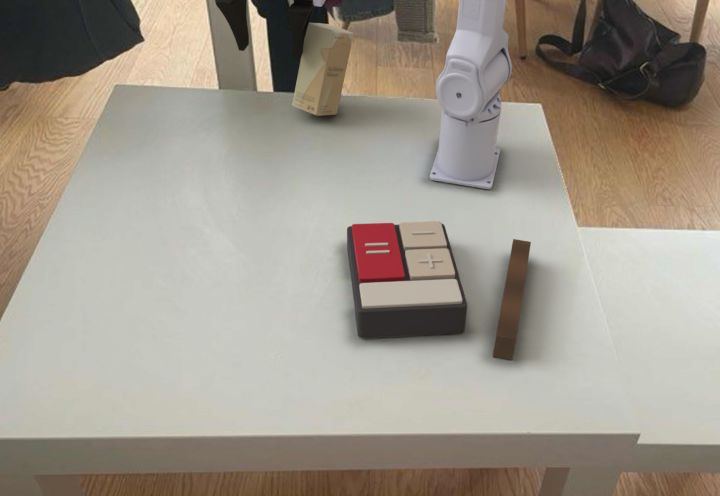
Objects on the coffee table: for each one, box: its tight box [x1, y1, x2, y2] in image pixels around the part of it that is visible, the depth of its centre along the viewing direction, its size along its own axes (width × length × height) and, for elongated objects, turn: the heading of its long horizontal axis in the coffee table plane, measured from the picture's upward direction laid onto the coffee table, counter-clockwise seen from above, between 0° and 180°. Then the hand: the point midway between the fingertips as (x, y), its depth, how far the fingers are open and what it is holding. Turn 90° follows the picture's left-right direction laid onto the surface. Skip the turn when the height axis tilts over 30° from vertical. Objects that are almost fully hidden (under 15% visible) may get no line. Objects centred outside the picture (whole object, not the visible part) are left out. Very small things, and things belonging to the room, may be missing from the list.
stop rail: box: [492, 238, 532, 361], centre depth 87 cm, size 16×2×3 cm, turn 171°
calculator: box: [346, 220, 468, 339], centre depth 87 cm, size 11×4×15 cm
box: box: [291, 22, 355, 117], centre depth 109 cm, size 5×4×11 cm
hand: (270, 51), depth 106 cm, fingers open, 7 cm apart
